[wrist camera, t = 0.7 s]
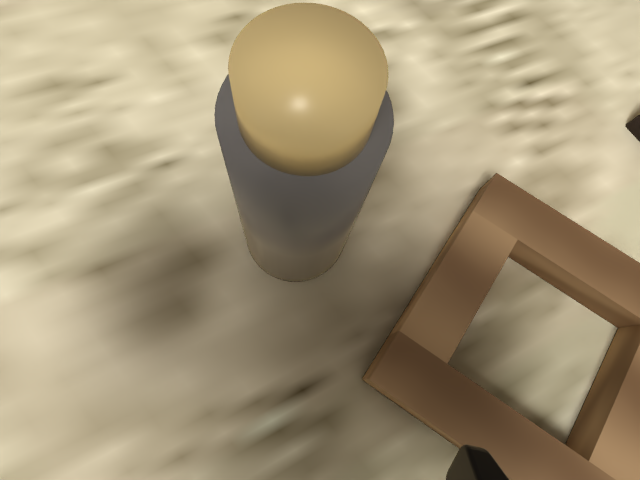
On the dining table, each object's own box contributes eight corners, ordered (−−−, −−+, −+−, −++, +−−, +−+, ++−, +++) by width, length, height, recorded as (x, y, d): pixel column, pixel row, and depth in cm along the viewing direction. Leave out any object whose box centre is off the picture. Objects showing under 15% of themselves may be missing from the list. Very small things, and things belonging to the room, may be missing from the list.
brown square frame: (587, 539, 20) (619, 556, 18) (361, 379, 21) (369, 379, 19) (679, 315, 23) (714, 310, 22) (480, 188, 25) (496, 173, 23)
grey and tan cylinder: (361, 256, 23) (450, 116, 11) (270, 298, 22) (253, 196, 10) (318, 174, 24) (354, -39, 12) (231, 210, 23) (170, 18, 11)
